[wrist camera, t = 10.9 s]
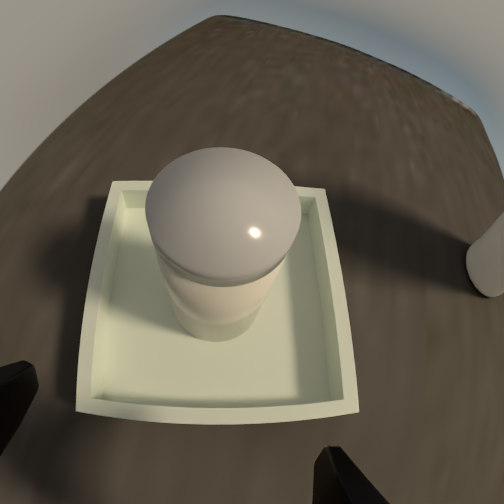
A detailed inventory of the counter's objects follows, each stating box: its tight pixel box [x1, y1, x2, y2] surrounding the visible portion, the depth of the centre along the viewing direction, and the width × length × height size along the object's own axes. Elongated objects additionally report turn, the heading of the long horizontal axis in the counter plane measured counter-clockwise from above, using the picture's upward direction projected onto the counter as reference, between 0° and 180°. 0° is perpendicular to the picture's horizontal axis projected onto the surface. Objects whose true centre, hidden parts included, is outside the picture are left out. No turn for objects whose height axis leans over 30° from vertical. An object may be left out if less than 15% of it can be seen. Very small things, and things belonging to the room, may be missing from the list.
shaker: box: [145, 147, 301, 342], centre depth 14 cm, size 5×5×9 cm
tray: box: [76, 181, 359, 424], centre depth 17 cm, size 14×14×2 cm
